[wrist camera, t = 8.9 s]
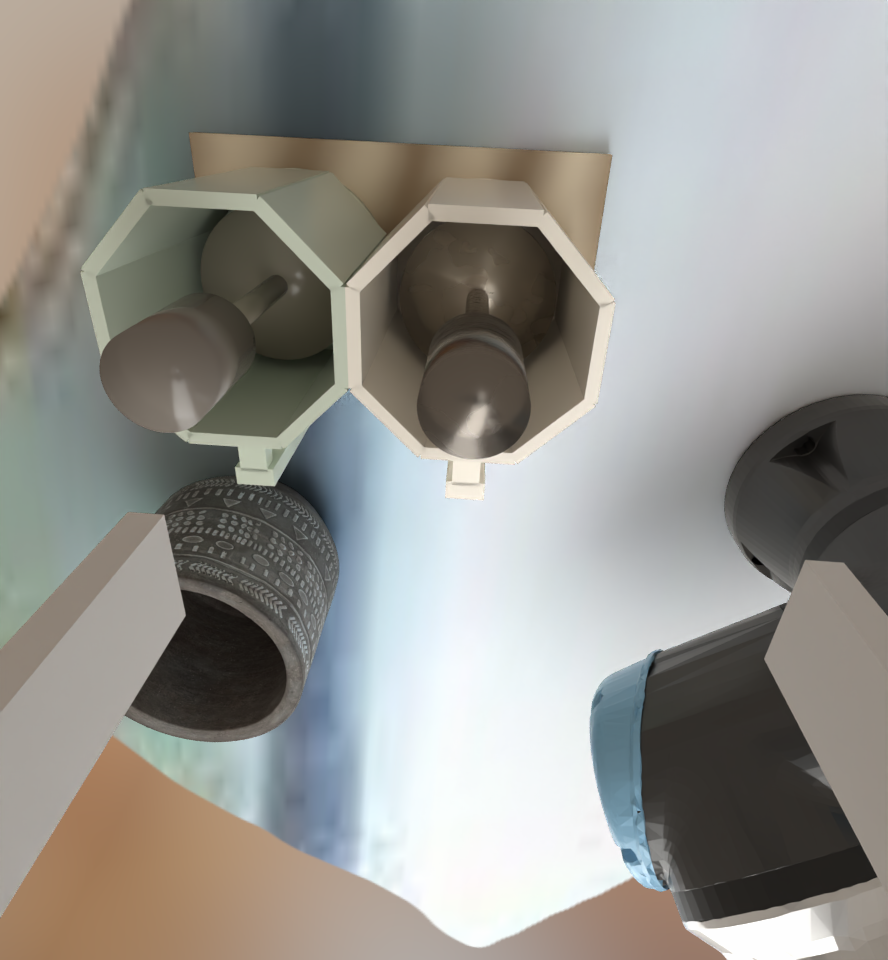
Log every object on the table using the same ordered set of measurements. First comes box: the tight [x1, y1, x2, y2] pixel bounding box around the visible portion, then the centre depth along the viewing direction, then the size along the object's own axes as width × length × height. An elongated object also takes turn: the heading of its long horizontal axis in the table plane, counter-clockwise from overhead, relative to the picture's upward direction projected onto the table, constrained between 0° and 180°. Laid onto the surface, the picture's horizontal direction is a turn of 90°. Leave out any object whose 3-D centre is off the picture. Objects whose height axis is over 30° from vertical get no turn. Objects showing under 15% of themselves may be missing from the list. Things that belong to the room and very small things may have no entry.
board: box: [189, 132, 612, 270], centre depth 39 cm, size 24×14×1 cm, turn 88°
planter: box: [125, 476, 339, 742], centre depth 44 cm, size 14×14×15 cm
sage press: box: [80, 167, 386, 486], centre depth 31 cm, size 11×14×20 cm
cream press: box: [345, 177, 616, 500], centre depth 33 cm, size 11×14×14 cm
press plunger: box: [399, 222, 557, 459], centre depth 27 cm, size 8×8×15 cm
